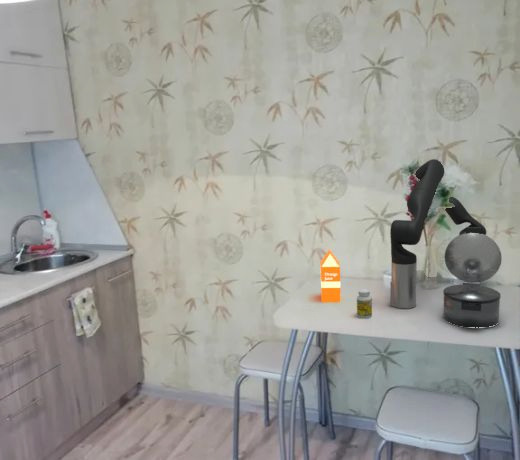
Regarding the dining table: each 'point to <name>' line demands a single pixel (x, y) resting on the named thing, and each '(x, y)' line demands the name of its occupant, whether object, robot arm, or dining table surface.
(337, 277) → the orange juice
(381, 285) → the dining table surface
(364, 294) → the supplement bottle
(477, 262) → the cooker lid
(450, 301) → the cooker pot
